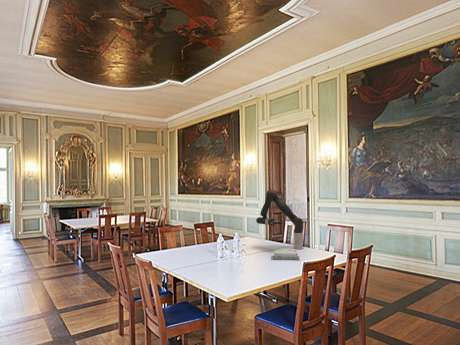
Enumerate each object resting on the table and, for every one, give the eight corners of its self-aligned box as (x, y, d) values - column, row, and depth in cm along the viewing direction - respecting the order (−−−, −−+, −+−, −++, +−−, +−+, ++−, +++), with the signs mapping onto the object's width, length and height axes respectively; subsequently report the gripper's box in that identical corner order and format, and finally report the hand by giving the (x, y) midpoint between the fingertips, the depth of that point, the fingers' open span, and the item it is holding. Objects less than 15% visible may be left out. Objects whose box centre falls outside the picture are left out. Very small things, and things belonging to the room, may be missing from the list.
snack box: (296, 249, 308) (297, 253, 294) (296, 255, 308) (297, 259, 293) (274, 249, 311) (274, 253, 296) (274, 255, 311) (274, 259, 296)
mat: (271, 256, 311) (271, 255, 311) (298, 256, 307) (298, 256, 307) (271, 259, 295) (271, 259, 295) (299, 260, 291) (299, 260, 291)
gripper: (265, 218, 335) (275, 220, 321) (275, 217, 342) (286, 219, 328) (265, 225, 335) (276, 227, 320) (275, 225, 342) (286, 226, 327)
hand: (281, 223), depth 324 cm, fingers closed
